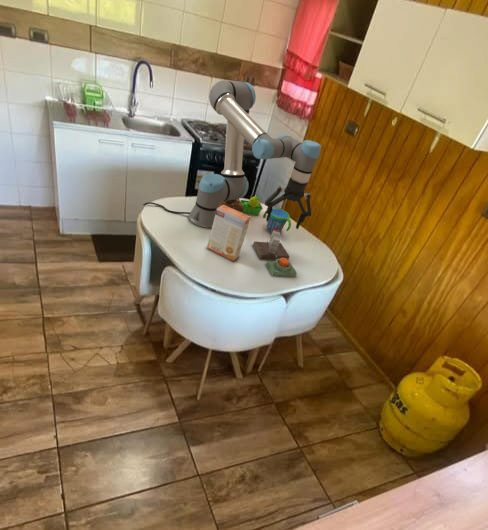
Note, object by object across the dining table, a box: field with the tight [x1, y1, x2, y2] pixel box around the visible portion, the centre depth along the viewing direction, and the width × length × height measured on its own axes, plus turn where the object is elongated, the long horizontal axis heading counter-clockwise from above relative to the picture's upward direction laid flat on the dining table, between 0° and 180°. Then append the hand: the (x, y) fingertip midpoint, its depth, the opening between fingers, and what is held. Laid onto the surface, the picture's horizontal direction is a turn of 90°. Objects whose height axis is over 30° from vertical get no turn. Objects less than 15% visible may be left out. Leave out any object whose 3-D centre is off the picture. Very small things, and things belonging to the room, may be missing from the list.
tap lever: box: [268, 230, 281, 254], centre depth 174 cm, size 9×3×8 cm, turn 169°
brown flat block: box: [252, 240, 290, 261], centre depth 177 cm, size 14×13×3 cm
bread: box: [219, 198, 243, 213], centre depth 203 cm, size 19×11×10 cm, turn 19°
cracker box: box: [206, 205, 252, 262], centre depth 165 cm, size 14×6×21 cm, turn 56°
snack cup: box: [262, 207, 292, 233], centre depth 194 cm, size 16×10×10 cm
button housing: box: [265, 259, 298, 278], centre depth 166 cm, size 11×8×4 cm
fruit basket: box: [240, 195, 264, 216], centre depth 205 cm, size 11×9×11 cm
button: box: [278, 258, 291, 267], centre depth 165 cm, size 4×4×2 cm
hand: (281, 224), depth 168 cm, fingers open, 13 cm apart
